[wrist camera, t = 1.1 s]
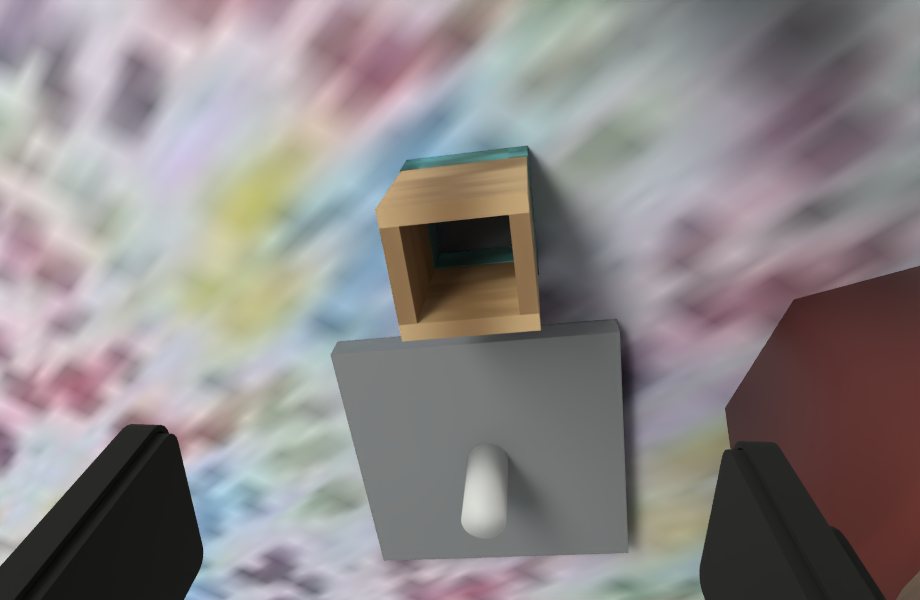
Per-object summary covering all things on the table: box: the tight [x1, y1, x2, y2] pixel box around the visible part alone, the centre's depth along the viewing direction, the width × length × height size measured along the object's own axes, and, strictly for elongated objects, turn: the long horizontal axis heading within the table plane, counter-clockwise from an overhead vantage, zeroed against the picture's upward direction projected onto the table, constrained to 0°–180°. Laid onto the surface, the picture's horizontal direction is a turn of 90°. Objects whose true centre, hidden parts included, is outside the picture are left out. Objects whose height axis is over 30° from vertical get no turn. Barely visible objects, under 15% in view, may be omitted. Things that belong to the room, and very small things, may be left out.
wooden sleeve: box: [375, 146, 541, 341], centre depth 30 cm, size 6×6×8 cm
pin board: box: [331, 319, 628, 561], centre depth 37 cm, size 16×16×6 cm
